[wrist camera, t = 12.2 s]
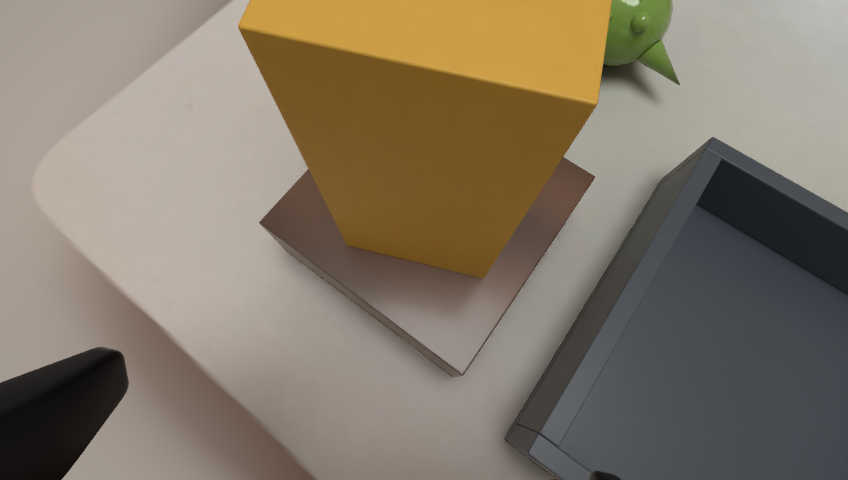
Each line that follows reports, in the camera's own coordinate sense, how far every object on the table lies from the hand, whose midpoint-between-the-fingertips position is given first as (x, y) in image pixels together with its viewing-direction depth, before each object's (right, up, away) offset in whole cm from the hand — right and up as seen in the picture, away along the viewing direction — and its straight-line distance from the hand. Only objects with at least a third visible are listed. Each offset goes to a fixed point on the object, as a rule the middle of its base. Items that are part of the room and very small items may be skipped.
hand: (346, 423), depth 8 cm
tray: (+16, -4, +11) cm, 20 cm away
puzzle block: (+2, +5, +10) cm, 11 cm away
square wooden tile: (+2, +4, +14) cm, 14 cm away
